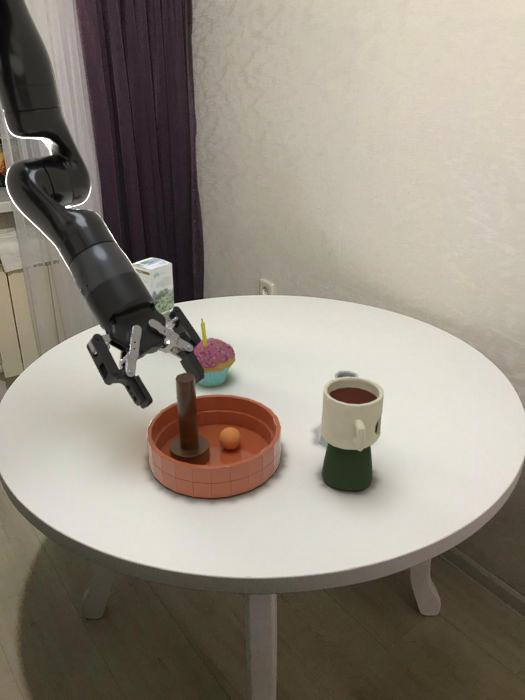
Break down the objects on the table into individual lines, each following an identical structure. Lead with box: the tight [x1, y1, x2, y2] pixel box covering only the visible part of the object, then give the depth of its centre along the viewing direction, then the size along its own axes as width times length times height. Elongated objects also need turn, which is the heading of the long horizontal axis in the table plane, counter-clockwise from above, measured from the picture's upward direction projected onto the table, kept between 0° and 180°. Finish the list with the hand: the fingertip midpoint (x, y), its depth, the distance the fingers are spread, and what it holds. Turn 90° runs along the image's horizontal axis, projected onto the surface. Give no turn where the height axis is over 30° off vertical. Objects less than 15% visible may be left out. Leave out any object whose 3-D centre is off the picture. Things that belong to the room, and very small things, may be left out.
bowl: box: [146, 393, 282, 499], centre depth 77 cm, size 17×17×5 cm
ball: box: [219, 427, 241, 450], centre depth 79 cm, size 3×3×3 cm
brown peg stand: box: [170, 372, 210, 465], centre depth 75 cm, size 5×5×12 cm
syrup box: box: [132, 257, 175, 332], centre depth 112 cm, size 6×6×14 cm
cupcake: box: [194, 317, 236, 387], centre depth 96 cm, size 9×8×12 cm
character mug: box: [321, 376, 385, 491], centre depth 72 cm, size 11×7×13 cm, turn 4°
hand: (175, 392), depth 74 cm, fingers open, 8 cm apart
